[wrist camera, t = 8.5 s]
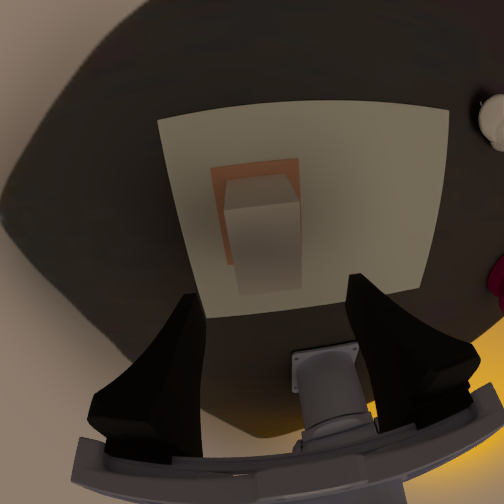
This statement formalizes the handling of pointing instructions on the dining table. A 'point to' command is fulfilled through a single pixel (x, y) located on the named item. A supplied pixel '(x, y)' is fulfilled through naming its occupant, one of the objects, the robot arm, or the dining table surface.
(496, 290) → the pepper mill
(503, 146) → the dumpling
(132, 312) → the dining table surface
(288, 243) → the plain grayish brown block
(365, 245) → the mat
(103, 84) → the dining table surface
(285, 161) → the flat orange brown slab
